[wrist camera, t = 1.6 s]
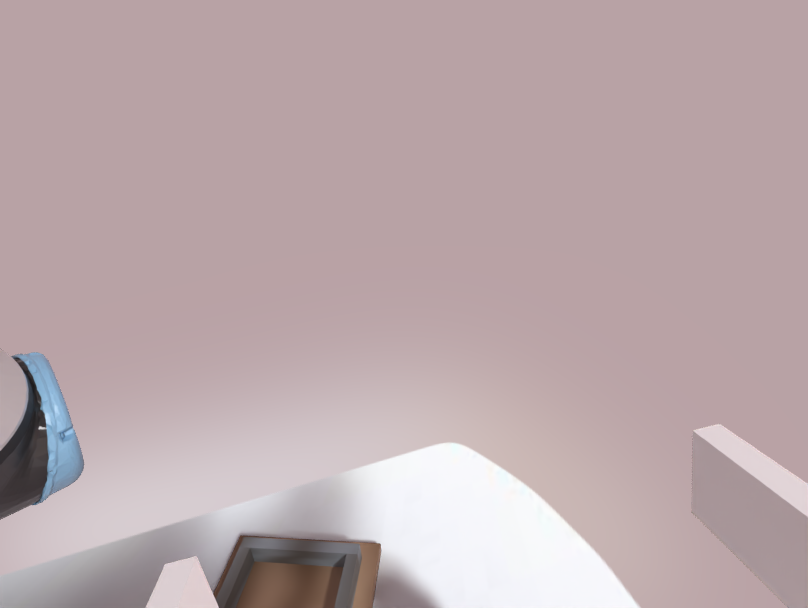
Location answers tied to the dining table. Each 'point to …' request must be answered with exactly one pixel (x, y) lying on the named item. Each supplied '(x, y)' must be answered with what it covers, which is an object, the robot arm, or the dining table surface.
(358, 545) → the trough board
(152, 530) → the dining table surface
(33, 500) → the robot arm
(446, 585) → the dining table surface
